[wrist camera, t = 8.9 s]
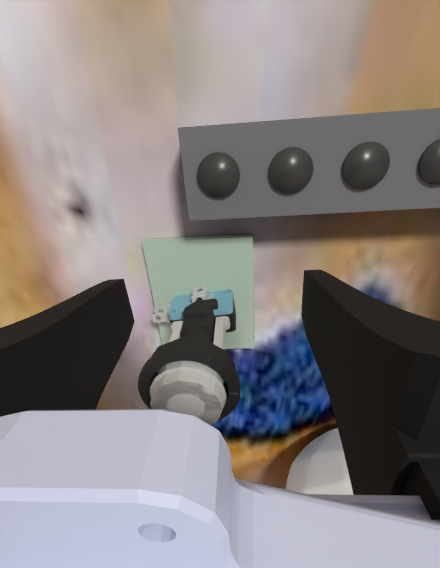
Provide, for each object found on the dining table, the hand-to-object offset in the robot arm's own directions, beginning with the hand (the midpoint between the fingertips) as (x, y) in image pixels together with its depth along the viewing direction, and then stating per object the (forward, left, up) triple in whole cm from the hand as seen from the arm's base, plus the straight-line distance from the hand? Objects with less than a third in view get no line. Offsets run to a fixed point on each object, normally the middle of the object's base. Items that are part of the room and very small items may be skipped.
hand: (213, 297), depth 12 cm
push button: (+3, +6, -10) cm, 12 cm away
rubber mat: (+2, +6, -10) cm, 12 cm away
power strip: (-7, -4, -10) cm, 13 cm away
